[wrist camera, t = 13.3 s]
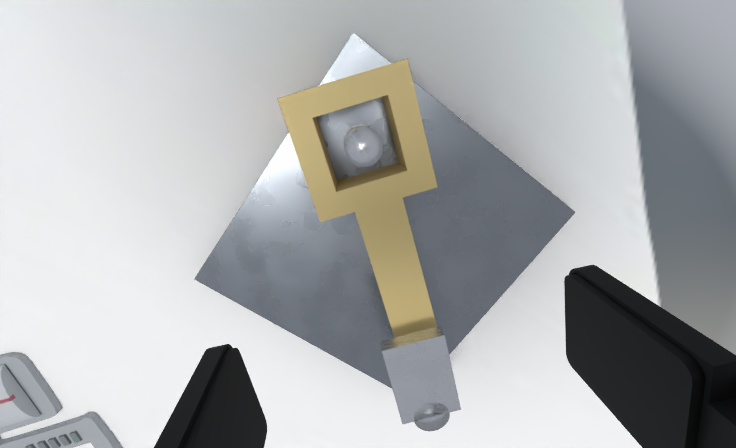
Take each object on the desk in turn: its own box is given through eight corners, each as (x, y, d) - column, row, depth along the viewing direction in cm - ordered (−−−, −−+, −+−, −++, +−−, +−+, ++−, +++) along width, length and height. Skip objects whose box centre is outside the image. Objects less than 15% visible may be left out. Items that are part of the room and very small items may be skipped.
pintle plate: (352, 35, 23) (356, 7, 17) (567, 208, 28) (635, 238, 21) (199, 273, 27) (155, 324, 21) (408, 389, 32) (425, 461, 25)
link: (286, 99, 23) (276, 98, 20) (398, 65, 23) (407, 58, 20) (366, 336, 29) (370, 365, 26) (457, 309, 29) (472, 336, 25)
